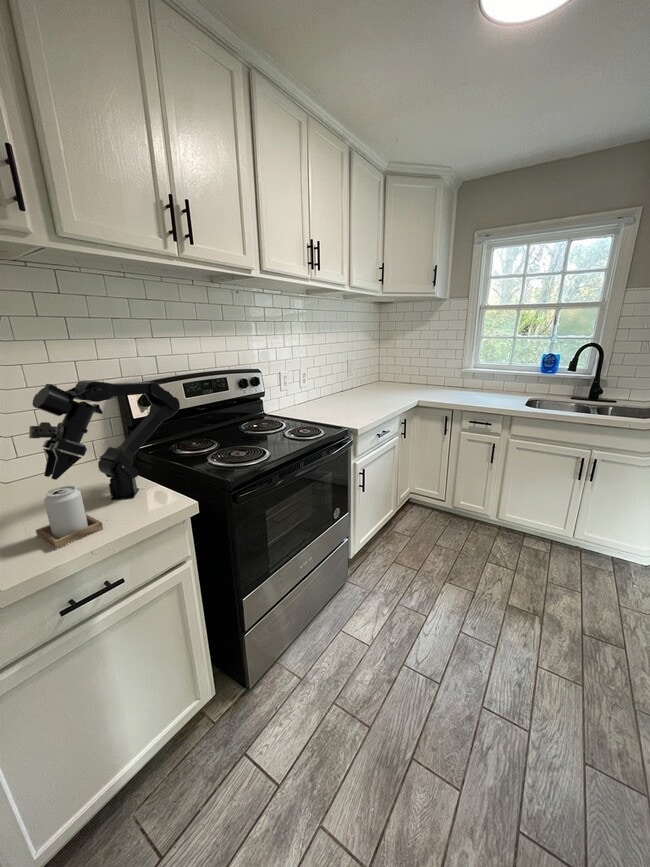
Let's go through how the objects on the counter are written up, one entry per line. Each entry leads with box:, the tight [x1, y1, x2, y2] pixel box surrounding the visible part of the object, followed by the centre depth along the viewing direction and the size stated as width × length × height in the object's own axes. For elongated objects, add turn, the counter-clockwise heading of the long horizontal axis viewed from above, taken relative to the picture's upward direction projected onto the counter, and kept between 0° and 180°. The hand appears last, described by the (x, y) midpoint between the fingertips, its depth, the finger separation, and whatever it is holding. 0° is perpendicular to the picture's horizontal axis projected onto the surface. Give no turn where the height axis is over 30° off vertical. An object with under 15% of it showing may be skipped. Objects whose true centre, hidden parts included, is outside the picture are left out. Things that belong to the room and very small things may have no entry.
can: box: [43, 485, 89, 539], centre depth 89 cm, size 8×8×12 cm
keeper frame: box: [35, 514, 104, 550], centre depth 90 cm, size 11×11×2 cm
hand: (50, 477), depth 92 cm, fingers open, 9 cm apart
